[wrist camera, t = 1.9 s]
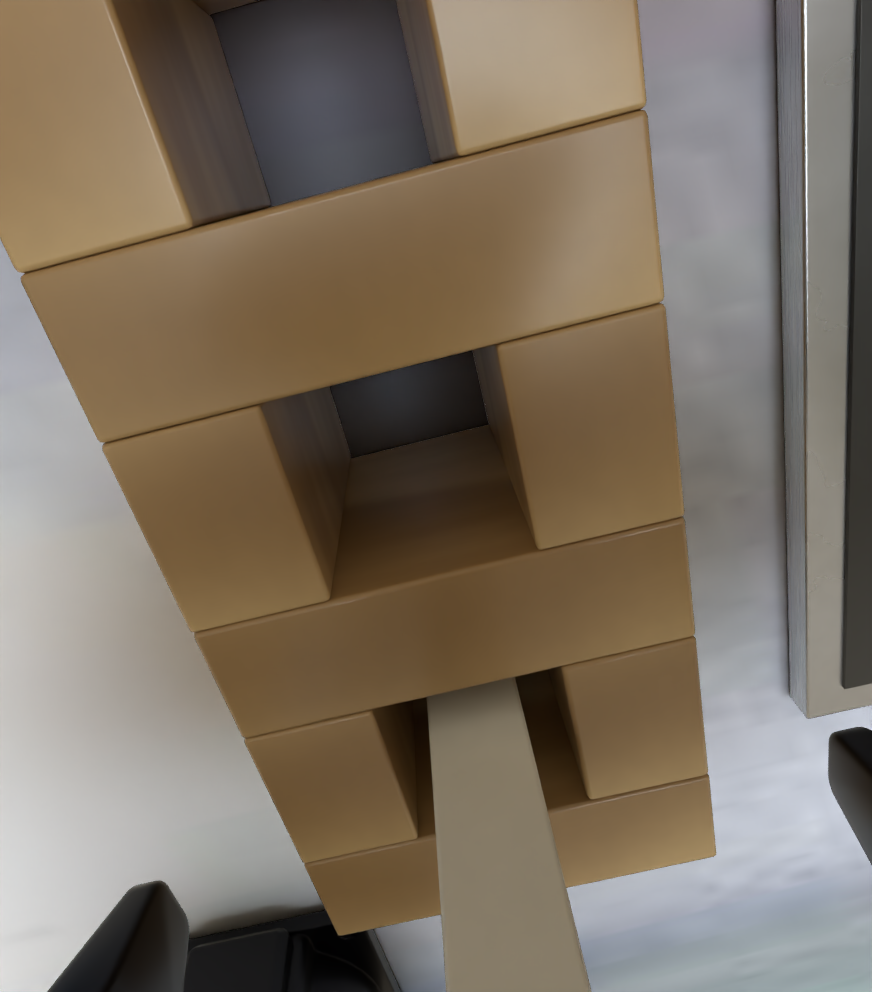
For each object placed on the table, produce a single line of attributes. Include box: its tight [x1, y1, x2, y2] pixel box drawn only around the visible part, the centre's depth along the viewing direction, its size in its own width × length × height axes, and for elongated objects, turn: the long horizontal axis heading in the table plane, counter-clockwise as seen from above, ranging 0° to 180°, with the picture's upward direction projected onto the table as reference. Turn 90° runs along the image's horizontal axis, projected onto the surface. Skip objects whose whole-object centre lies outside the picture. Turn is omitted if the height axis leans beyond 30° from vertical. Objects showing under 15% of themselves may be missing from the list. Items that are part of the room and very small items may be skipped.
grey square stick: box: [427, 677, 591, 992], centre depth 10 cm, size 1×1×10 cm
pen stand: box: [0, 0, 716, 936], centre depth 10 cm, size 16×6×5 cm, turn 13°
